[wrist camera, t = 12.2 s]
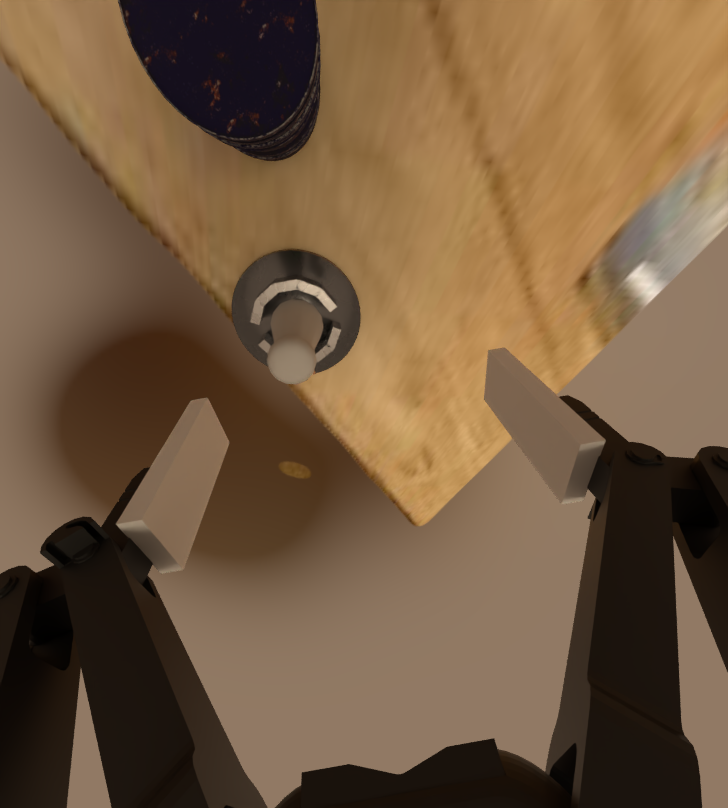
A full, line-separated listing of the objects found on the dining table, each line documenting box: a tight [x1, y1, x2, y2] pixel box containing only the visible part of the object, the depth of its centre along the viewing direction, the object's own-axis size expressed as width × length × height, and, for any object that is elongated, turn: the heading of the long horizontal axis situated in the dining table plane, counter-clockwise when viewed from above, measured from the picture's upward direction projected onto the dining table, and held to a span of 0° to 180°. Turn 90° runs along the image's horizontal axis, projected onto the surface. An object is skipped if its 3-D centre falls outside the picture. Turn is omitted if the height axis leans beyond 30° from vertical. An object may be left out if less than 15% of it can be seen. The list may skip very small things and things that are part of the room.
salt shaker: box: [267, 299, 323, 384], centre depth 34 cm, size 6×6×13 cm
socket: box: [232, 249, 360, 374], centre depth 39 cm, size 15×15×3 cm
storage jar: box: [118, 0, 321, 161], centre depth 23 cm, size 10×10×15 cm
